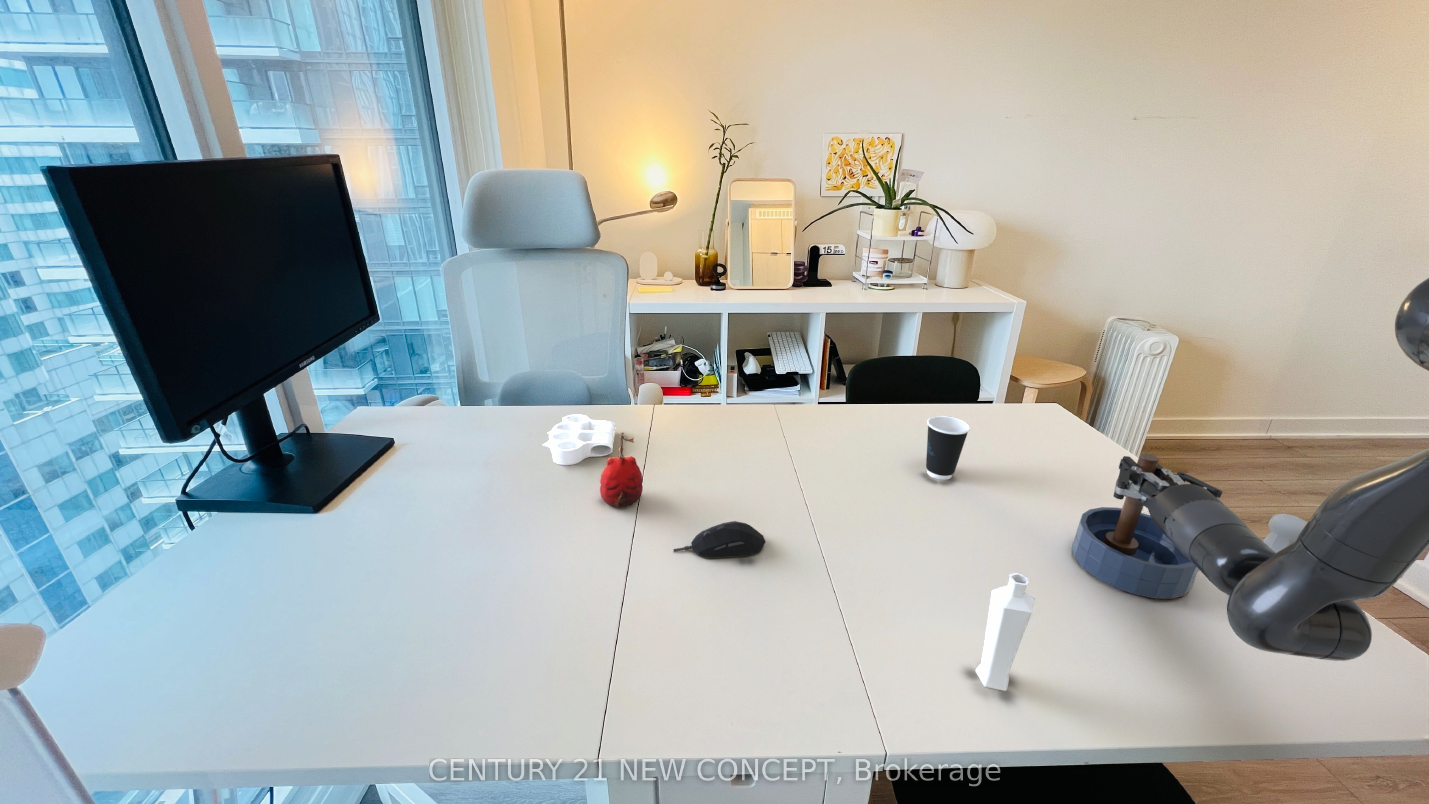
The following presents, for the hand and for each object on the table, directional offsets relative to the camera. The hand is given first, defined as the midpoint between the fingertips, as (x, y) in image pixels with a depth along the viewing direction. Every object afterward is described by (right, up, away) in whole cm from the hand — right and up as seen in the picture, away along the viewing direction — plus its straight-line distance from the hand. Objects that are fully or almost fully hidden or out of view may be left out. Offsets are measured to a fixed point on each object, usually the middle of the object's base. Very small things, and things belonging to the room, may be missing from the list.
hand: (1134, 462), depth 91 cm
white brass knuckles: (-93, 0, +37) cm, 100 cm away
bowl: (+1, -17, +2) cm, 17 cm away
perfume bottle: (-30, -25, -18) cm, 43 cm away
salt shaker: (+16, -19, -3) cm, 25 cm away
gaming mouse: (-63, -14, +5) cm, 65 cm away
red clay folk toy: (-81, -9, +17) cm, 83 cm away
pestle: (-1, -14, +3) cm, 14 cm away
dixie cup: (-19, -5, +29) cm, 35 cm away
